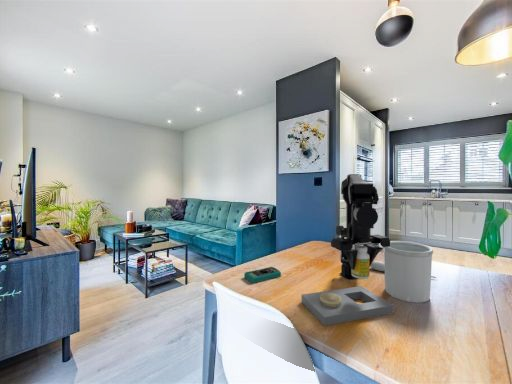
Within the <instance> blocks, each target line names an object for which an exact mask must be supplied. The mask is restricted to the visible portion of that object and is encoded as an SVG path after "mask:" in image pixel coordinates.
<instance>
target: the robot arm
mask: <svg viewBox="0 0 512 384" xmlns="http://www.w3.org/2000/svg"><path fill="white" fill-rule="evenodd" d="M340 185H341V186H340V195H342V199H343V201H344V203H345V204H346V205H345V206H346V208H345V209H346V210H345V213H346V214H345V220H346V221H345V226H344V225H337V226H335V235H336V236H338V237H333V238H332V239H331V240H330V247H332V248H334V249H336V250H338V251H340V252H339V260H340V263H341V267H340V269H341V272H340V273H339V275H341V276H342V277H344V278H345V279H348V280H349V281H350V280H357V279H359V278H355V277H353V276H352V274H351V269H353V270H354V269H355V265H356V259H357V253H358V251H357V250H355V246H357V245H362V246H366V247H367V252H366V253H368V254H369V256H370V264H369V268H371V267H370V265H371V264H372V262H373V261H375V259H376V257H377V256H378V254H379V253H380V252H381V251H382V250H383V248H384V247H390V241H391V240H390V239H389V237H388V236H384V235H381V234H371V233H372V231H371V229H374V226H375V224H376V223H378V220H379V213H378V212H377V210H376V209H375V208H373V205H378V203H379V201H380V198H379V193H378V190H377V188H376V186H375V185H374V183H373V182H372V181H365V180H364V179H363V178H362V174H360V173H349V174H347V176H346V178H345V179H344V180H342V181H341V183H340Z"/></svg>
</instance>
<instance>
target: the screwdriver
mask: <svg viewBox="0 0 512 384" xmlns="http://www.w3.org/2000/svg"><path fill="white" fill-rule="evenodd" d="M369 268H371V269H372V270H375V271H378V272H385V261H380V260H373V262H372V264H371V265H370V267H369ZM432 278H433V279H436V278H437V277H436V276H433V275H431V279H432Z"/></svg>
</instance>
